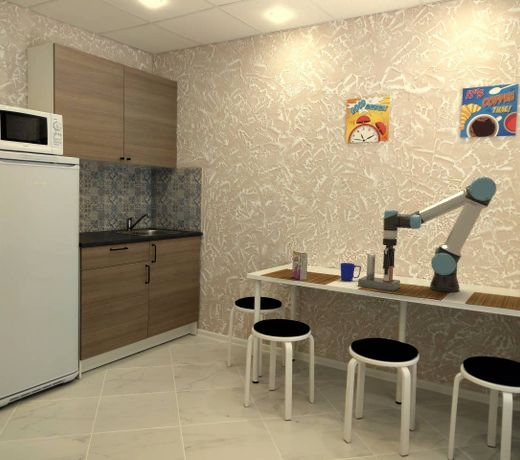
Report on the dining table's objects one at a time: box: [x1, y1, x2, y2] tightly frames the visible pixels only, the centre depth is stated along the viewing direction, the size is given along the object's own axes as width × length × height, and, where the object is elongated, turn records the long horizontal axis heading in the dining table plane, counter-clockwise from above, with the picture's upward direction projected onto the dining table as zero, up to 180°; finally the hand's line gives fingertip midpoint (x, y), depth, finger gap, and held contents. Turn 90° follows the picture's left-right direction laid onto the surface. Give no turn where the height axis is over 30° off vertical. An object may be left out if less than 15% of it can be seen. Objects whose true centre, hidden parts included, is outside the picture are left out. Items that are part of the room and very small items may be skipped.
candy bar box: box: [291, 250, 309, 281], centre depth 277 cm, size 11×5×16 cm, turn 22°
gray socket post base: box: [357, 253, 401, 292], centre depth 258 cm, size 20×12×18 cm, turn 58°
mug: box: [340, 262, 362, 282], centre depth 275 cm, size 8×12×10 cm
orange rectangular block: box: [382, 266, 394, 282], centre depth 255 cm, size 4×4×12 cm
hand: (388, 279), depth 255 cm, fingers open, 6 cm apart
